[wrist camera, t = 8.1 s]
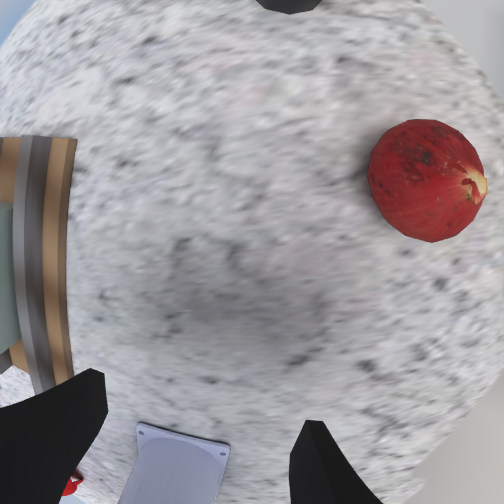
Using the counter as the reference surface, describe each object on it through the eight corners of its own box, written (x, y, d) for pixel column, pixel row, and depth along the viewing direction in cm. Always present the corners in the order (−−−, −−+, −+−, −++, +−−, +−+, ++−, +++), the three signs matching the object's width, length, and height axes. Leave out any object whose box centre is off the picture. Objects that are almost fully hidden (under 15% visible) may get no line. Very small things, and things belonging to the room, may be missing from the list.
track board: (76, 388, 21) (59, 408, 18) (1, 350, 21) (-16, 363, 18) (77, 139, 16) (49, 135, 13) (-6, 138, 16) (-31, 137, 13)
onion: (331, 189, 16) (384, 196, 9) (382, 111, 15) (455, 70, 7) (405, 246, 17) (483, 290, 9) (450, 171, 16) (539, 175, 8)
